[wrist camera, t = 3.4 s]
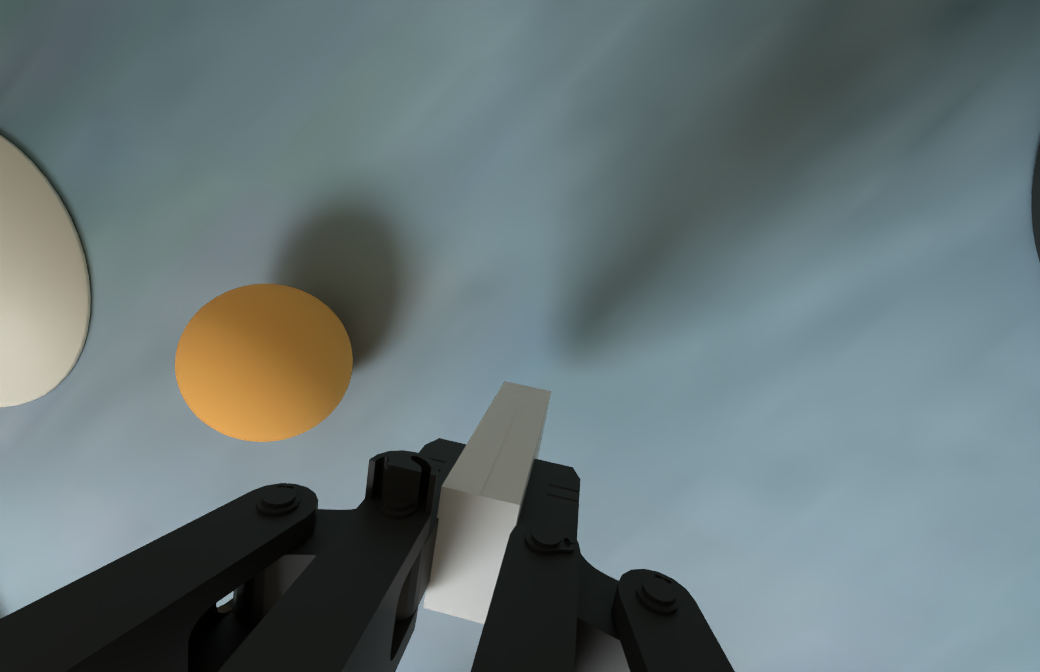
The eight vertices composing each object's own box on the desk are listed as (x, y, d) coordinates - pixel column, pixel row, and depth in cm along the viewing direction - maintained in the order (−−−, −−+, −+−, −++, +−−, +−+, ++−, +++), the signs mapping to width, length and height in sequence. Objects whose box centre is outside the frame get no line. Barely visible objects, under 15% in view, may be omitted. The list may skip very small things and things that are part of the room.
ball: (385, 291, 19) (300, 314, 14) (371, 421, 20) (289, 489, 15) (256, 265, 20) (127, 277, 14) (250, 393, 21) (130, 448, 16)
